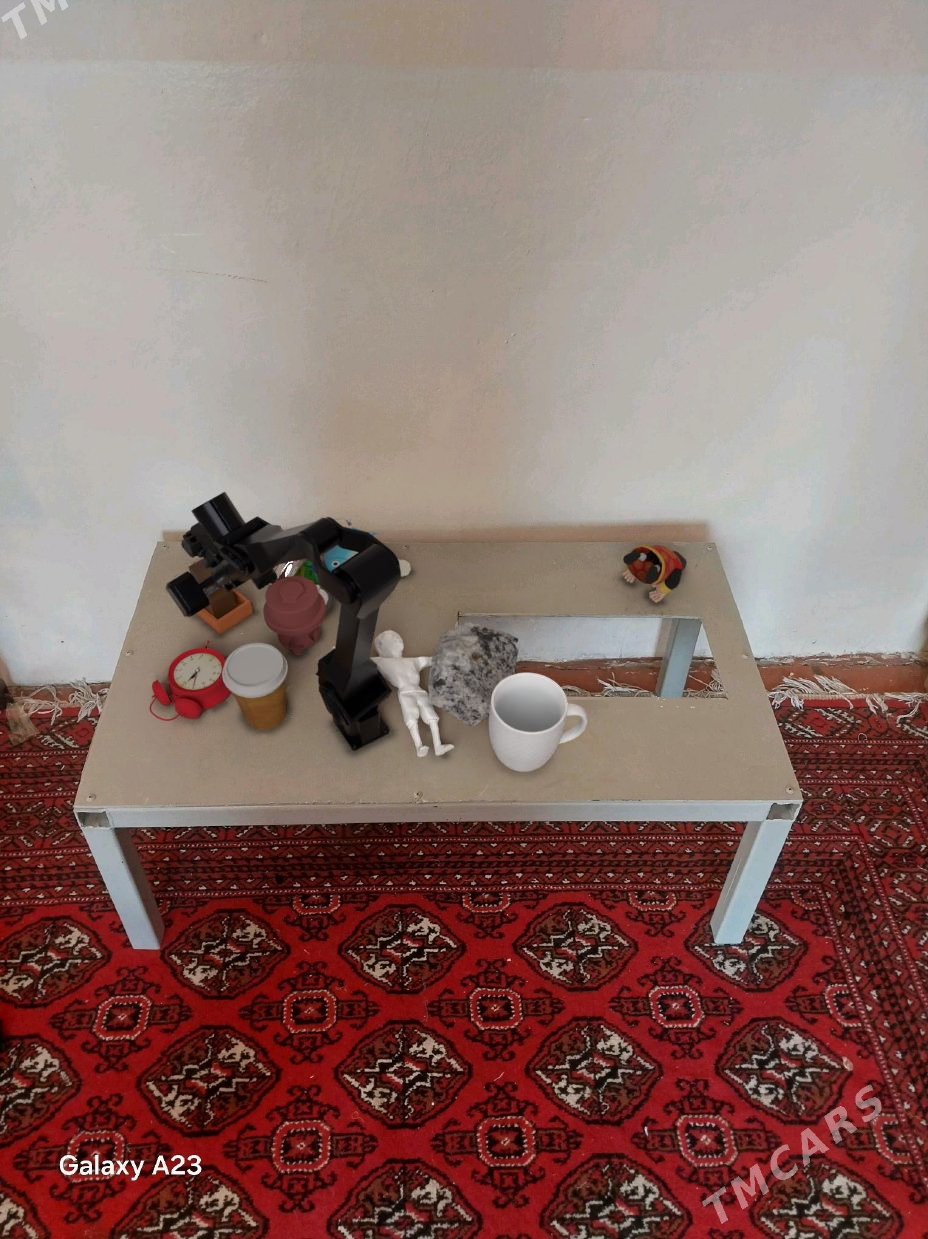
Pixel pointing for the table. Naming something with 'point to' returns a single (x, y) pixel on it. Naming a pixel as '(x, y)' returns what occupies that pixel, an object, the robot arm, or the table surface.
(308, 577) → the numbered block arch
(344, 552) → the toy
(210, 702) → the alarm clock
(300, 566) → the milkshake
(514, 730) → the mug
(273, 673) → the disposable coffee cup
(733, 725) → the table surface
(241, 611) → the socket pad
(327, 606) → the stove knob
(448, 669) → the rock
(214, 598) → the brown rectangular block
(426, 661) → the figurine
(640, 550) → the figurine
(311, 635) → the mechanical component
